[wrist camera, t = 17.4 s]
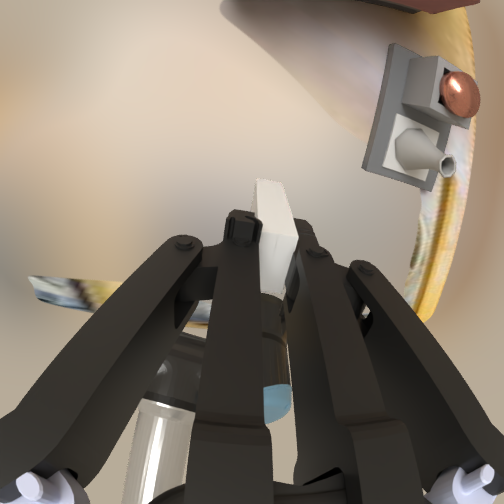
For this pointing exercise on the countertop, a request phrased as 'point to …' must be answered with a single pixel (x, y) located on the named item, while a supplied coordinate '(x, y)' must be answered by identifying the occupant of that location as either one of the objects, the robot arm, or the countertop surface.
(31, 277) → the countertop surface
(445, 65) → the press
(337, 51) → the countertop surface
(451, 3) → the toaster
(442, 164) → the flask
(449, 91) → the copper ovoid
